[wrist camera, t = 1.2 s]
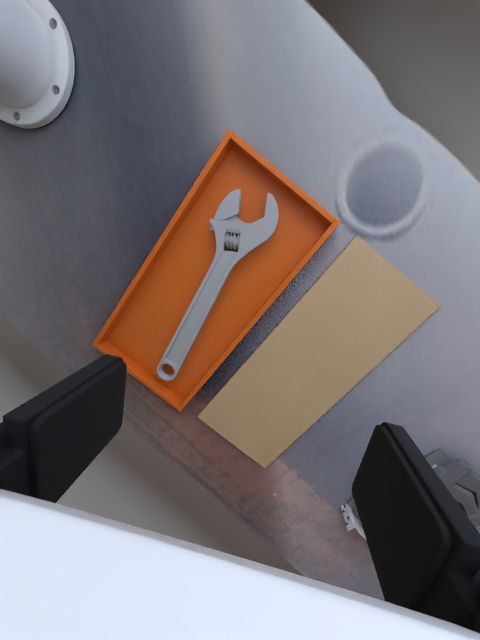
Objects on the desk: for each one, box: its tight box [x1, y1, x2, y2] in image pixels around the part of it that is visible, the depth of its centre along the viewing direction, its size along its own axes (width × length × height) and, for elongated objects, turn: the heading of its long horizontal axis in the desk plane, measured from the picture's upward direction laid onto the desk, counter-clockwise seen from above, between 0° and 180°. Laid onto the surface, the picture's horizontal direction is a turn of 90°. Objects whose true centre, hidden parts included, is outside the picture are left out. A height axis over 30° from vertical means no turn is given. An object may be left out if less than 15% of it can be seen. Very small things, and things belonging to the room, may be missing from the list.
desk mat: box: [197, 236, 441, 468], centre depth 33 cm, size 12×30×1 cm, turn 142°
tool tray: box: [92, 129, 341, 412], centre depth 31 cm, size 14×29×2 cm, turn 142°
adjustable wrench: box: [157, 189, 278, 381], centre depth 31 cm, size 25×6×2 cm, turn 146°
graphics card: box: [341, 450, 480, 541], centre depth 34 cm, size 17×4×12 cm
